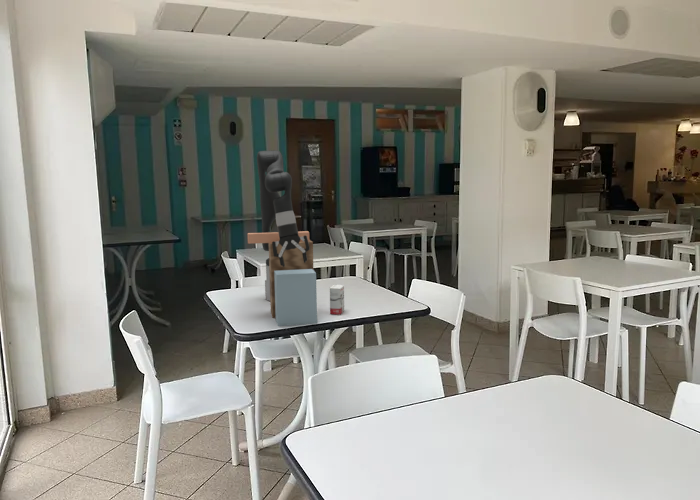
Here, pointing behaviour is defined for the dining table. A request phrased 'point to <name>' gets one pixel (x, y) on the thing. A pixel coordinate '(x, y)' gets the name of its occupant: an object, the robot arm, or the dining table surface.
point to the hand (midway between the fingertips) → (294, 264)
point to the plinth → (287, 265)
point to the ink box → (336, 299)
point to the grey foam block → (295, 297)
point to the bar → (270, 237)
